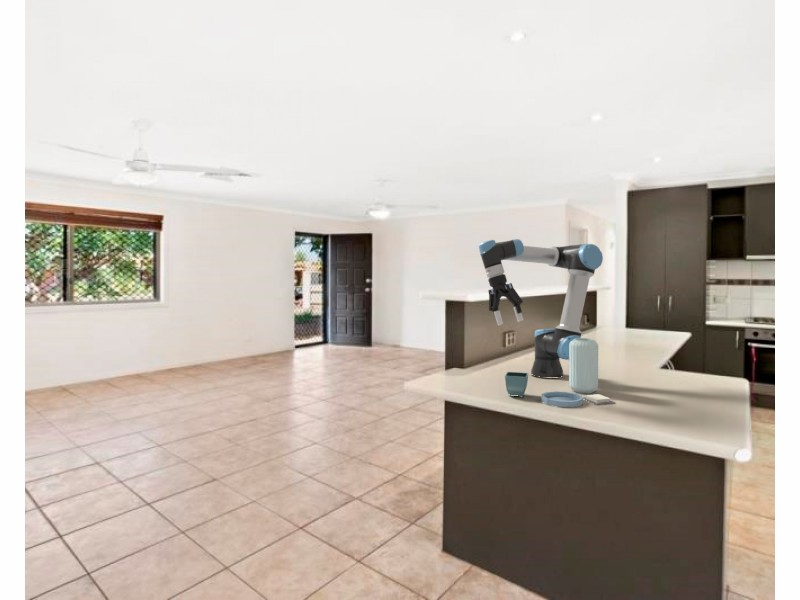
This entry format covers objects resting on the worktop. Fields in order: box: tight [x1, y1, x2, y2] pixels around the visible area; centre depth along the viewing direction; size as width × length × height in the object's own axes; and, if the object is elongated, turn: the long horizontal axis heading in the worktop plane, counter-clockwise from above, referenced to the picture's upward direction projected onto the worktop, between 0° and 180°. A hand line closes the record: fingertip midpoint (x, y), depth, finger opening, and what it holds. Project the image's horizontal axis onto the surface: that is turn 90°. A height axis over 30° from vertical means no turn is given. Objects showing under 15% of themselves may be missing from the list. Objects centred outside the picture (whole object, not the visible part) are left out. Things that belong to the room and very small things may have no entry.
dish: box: [541, 390, 584, 408], centre depth 186 cm, size 15×15×2 cm
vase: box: [568, 337, 599, 394], centre depth 201 cm, size 12×12×22 cm
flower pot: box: [504, 371, 529, 397], centre depth 196 cm, size 9×9×9 cm
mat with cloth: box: [582, 393, 616, 406], centre depth 186 cm, size 10×8×2 cm
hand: (510, 323), depth 204 cm, fingers open, 13 cm apart
